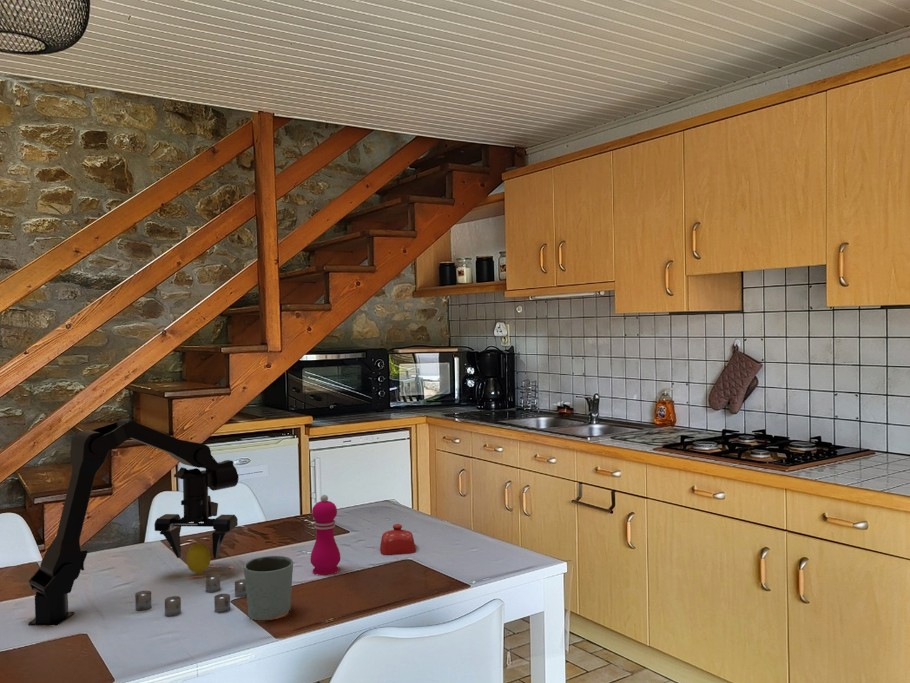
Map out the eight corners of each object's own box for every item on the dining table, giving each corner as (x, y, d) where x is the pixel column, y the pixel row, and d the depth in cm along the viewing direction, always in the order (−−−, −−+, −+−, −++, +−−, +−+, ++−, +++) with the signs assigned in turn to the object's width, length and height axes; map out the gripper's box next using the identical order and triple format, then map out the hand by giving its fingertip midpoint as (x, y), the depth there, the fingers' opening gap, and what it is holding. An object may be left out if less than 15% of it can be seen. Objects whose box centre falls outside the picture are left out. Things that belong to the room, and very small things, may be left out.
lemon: (203, 578, 182) (202, 545, 182) (182, 577, 183) (181, 544, 183) (215, 571, 188) (214, 539, 187) (194, 570, 189) (193, 538, 188)
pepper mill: (304, 578, 184) (302, 496, 184) (323, 569, 191) (321, 490, 190) (328, 583, 181) (327, 499, 180) (346, 573, 187) (345, 493, 187)
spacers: (228, 621, 158) (227, 602, 158) (125, 619, 160) (125, 600, 160) (256, 592, 175) (255, 574, 175) (163, 590, 177) (163, 573, 177)
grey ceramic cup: (274, 606, 166) (273, 552, 166) (304, 617, 160) (303, 561, 160) (234, 621, 158) (233, 564, 158) (264, 633, 152) (263, 574, 152)
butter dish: (375, 550, 207) (375, 519, 206) (418, 548, 208) (417, 517, 208) (376, 564, 195) (375, 531, 195) (420, 561, 196) (420, 529, 196)
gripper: (244, 486, 192) (246, 548, 192) (173, 486, 193) (175, 547, 194) (228, 497, 181) (229, 562, 181) (152, 496, 182) (154, 561, 183)
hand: (197, 557), depth 185 cm, fingers open, 9 cm apart
